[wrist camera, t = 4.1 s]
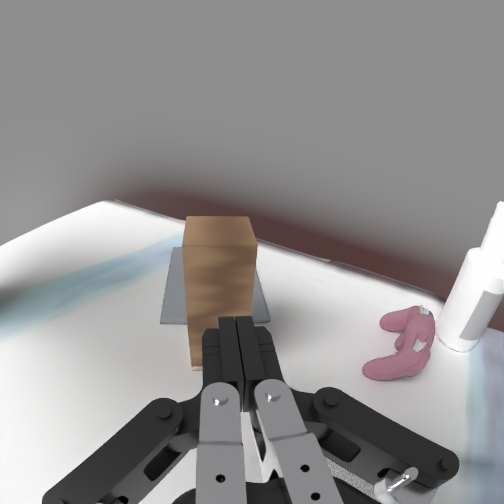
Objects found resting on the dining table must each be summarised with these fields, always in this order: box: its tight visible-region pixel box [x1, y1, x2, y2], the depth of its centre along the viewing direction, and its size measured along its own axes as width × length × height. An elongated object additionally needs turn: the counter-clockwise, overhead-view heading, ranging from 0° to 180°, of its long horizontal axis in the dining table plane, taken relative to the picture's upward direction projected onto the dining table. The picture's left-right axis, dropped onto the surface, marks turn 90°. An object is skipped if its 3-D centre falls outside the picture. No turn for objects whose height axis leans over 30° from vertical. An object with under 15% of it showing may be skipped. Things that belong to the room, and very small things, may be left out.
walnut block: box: [182, 216, 258, 370], centre depth 25 cm, size 5×5×13 cm
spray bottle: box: [435, 201, 504, 352], centre depth 26 cm, size 7×7×18 cm
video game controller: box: [362, 305, 435, 380], centre depth 26 cm, size 10×5×7 cm, turn 148°
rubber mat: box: [160, 247, 270, 324], centre depth 38 cm, size 17×12×1 cm
